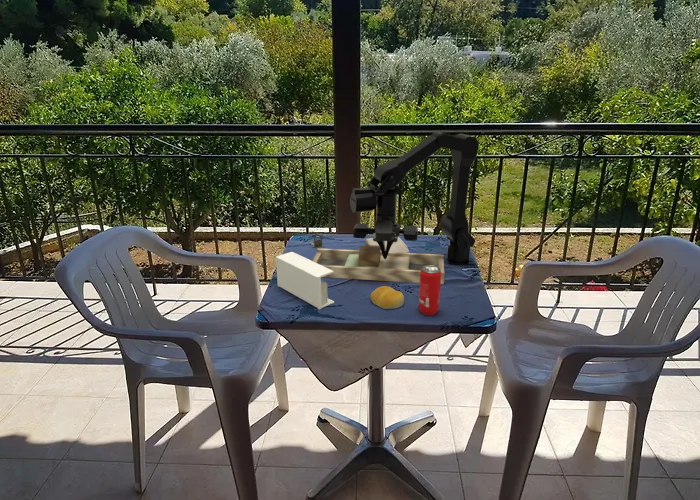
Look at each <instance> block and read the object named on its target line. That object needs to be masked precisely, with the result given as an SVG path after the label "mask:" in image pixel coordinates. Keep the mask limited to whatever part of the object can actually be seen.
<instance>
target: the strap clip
mask: <svg viewBox="0 0 700 500" xmlns="http://www.w3.org/2000/svg"><path fill="white" fill-rule="evenodd" d="M316 238H320V239H316ZM309 244H311V245H312V247H313V246H314V247H313V248H315V247H316V249H317V248H321V249H327V248H325V246H323V238H322V236H321V235H318V236H314V237H313V241H310V242H309ZM311 245H310V246H311ZM322 247H323V248H322ZM316 249H315V250H316Z"/></svg>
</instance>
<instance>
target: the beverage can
mask: <svg viewBox="0 0 700 500" xmlns="http://www.w3.org/2000/svg"><path fill="white" fill-rule="evenodd" d="M440 270H441V269H440V268H439V267H437V266H434V265H426V266H423V267H422V269H421V271H420V283H419V292H418V308H419V309H418V310H419V312H420V314H422V313H423V314H422V315H424V314H425V315H424V316H435V315H436V314H437V313H438V311H439V309H440V300H441V299H440V298H441V297H440V296H441V295H440V294H441V285H442V284H441V271H440Z"/></svg>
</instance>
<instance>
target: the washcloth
mask: <svg viewBox="0 0 700 500" xmlns="http://www.w3.org/2000/svg"><path fill="white" fill-rule="evenodd" d="M364 243H365V245H376V246H379V244H378V243H377V242H376V241H373V237H369V238H366V239H365V242H364ZM386 246H387V241H385V250H386ZM389 252H399V253H410V250H409V248H408V245H407V244H405V242H404V241H403V240H402V239H401V238H400V236H399V237H398V240H397V242H394V243H393V244H392V246H391V248H390V250H389Z"/></svg>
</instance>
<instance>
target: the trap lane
mask: <svg viewBox="0 0 700 500" xmlns="http://www.w3.org/2000/svg"><path fill="white" fill-rule="evenodd" d="M359 250H360V249H357V250H356V249H341V248H340V249H337V248H326V249H321V248H317V250H316V254H314V257H313V259H312V260H311V261H313V262H315V263H317V264H320V265H322V266H324V267H326V268H328V269H330V270H332V271H334V273H331V274H329V275H326V276H323V277H322V278H331V279H348V280H349V279H350V280H367V281H368V280H369V281H382V282H399V283H400V282H401V283H414V284H415V283H416V284H420V271H421V269H422V267H423V266H426V265H434V266H437V267H439V268H440V269H441V270H440V271H441V285H444V284H445V275H446V274H445V262H444V260H445V259H444V254H435V253H418V252H417V253H415V252H414V253H413V252H409V253H399V252H389V253H388V256H387V258H386V259H384V258H383V255H382V252H381V254H380V263H379V267H370V266H359Z"/></svg>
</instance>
